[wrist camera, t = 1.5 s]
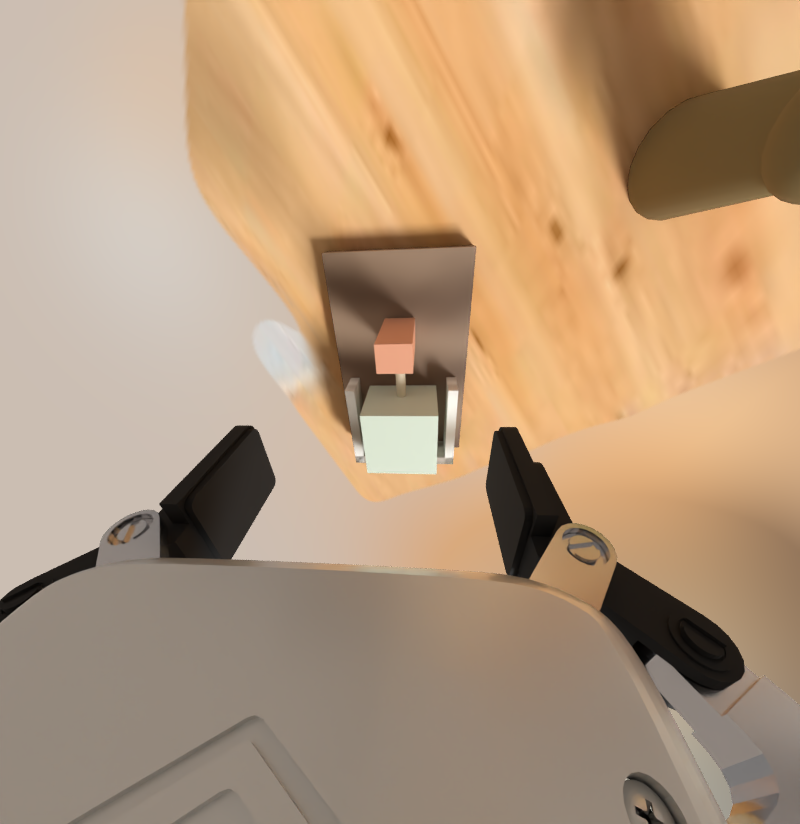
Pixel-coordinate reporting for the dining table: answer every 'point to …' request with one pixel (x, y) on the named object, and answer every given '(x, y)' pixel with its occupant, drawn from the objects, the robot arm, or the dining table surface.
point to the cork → (721, 151)
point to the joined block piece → (399, 408)
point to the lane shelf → (404, 298)
